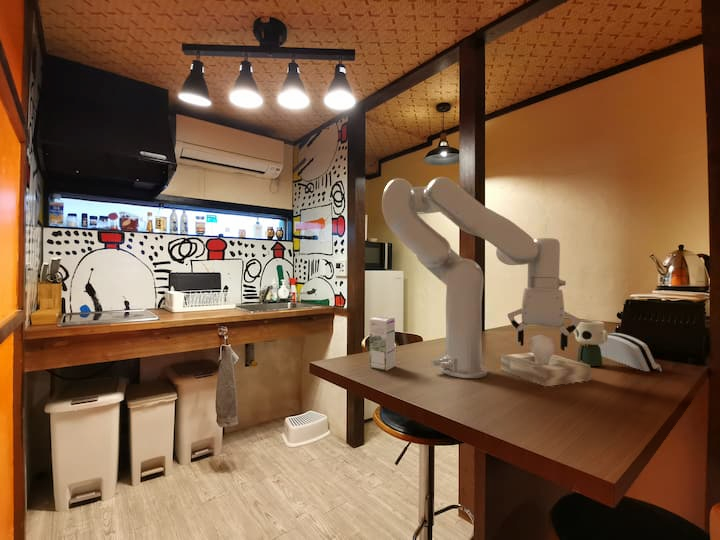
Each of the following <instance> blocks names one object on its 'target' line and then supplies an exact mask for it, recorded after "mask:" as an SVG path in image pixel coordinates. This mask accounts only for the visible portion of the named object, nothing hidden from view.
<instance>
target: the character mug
mask: <svg viewBox="0 0 720 540" xmlns="http://www.w3.org/2000/svg"><path fill="white" fill-rule="evenodd" d="M580 320H581V321H580V323H579V325H578V326H577V327H576V329H575V330H574V331H573V335H574V336H575V340H576V341H577V342H578V343H580V345H579V347H578V351H577V352H578V353H577V360H576V361H577V362H581V361H582V363H584V364H588V365H590V367H591V366H592V367H596V366H601V365H603V364H604V363H603V357H602V355H601V349H600V347H599V345H601V344H604V342H607V340H608V334H609V333H608V331H607V330H605V322H603V321H600V320H591V319H580Z"/></svg>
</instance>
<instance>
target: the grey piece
mask: <svg viewBox="0 0 720 540" xmlns="http://www.w3.org/2000/svg"><path fill="white" fill-rule="evenodd" d="M598 346H599V347H600V349H601V355H602V358H606V359H608V360H611V361H614V362H616V363H619V362H620V364H622V363H623V365H625V364H626V365H625V366H628V365H629V366H628V367H631V368H634V369H636V370H639V369H640V371H642V370H643V372H646V371H647V372H651V370H650V369H652V370H656V371H658V372H662V371H663V370H662V368H661V365H660V364H658V363H656V361H655V360H654V357H653V355H652V352H651V351H650V349H649V346H648V345H647V344H646V343H645V342H643V341H641V340H640V339H638V338H636V337H633V336H631V335H629V334H628V335H627V334H624V333H619V332H613V333H608V340H607V342H604V344H601V345H598Z"/></svg>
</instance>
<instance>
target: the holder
mask: <svg viewBox="0 0 720 540" xmlns="http://www.w3.org/2000/svg"><path fill="white" fill-rule="evenodd" d="M500 370H502V371H503V372H505V373H509V374H511V373H512V374H511V375H513V374H514V375H513V376H516V375H517V376H516V377H518V376H520V377H519V378H521V377H522V378H521V379H523V378H525V379H524V380H526V379H528V380H530V381H529V382H531V381H533V382H535V383H537V384H536V385H538V384H540V385H543V386H551V385H558V384H565V383H572V384H576V383H575V382H579V383H583V382H582V381H586V382H590V381H591V366H590V365H588V364H584V363H583V362H581V361H580V362H577V360H573V359H569V358H566V357H564V356H559V355H556V354H554V353H553V354H552V355H551V357H550V359H549V365H541V364H538V363H535V357H534V354H533V353H532V351H531V352H523V353H522V352H521V353H513V354H503V355H500ZM528 380H527V381H528ZM589 380H590V381H589ZM533 382H532V383H533ZM535 383H534V384H535ZM540 385H539V386H540ZM565 385H566V384H565ZM543 386H542V387H543ZM558 386H559V385H558ZM551 387H552V386H551Z"/></svg>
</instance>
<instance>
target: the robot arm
mask: <svg viewBox="0 0 720 540" xmlns="http://www.w3.org/2000/svg"><path fill="white" fill-rule="evenodd" d="M384 187H385V188H384V190H383V193H382V198H381V199H382V200H381V211H382V215H383V219H384V221H385V223H386V225H387V228H389V230H390V231H391V232H392V233H393V235H395V236H396V238H397V239H399V240H400V242H402V243H403V244H404V246H405V247H407V248H408V249H409V250H410V251H411V252H412V253H414V254H415V255H416V258H417V260H418V261H419V262H420V263H421V265H423V267H425V268H426V269H427V270H428V271H429V272H430V273H431V274H433V275H434V276H435V277H436V278H437V279H438V280H439V281H441V282H442V283H443V284H444V285H445V286H446V291H445V292H446V294H445V353H442V355H441V357H440V358H431V359H430V363H429V364H430V366H431V367H439V368H440V369H439V370H440V371H441V373H443V374H444V375H448V376H451V377H455V378H461V379H479V378H480V379H481V378H483V377H486V376H487V375H488V368H487V367H485V366H484V365H482V352H483V351H482V346H483V345H482V339H483V338H482V333H483V332H482V331H483V330H482V326H483V325H482V318H483V317H482V306H483V305H482V300H483V291H484V272H483V271H482V270H483V269H482V268H481V266H480V265H479V264H478V263H477V262H476V261H474V260H473V259H470V258H463V257H462V256H460V255H459V254H458V253H457V252H456V251H455V250H453V249H452V247H451V245H450V242H449V241H448V239H446V237H444V236H443V235H442V234H441V233H439V232H438V231H437V230H435V229H434V228H433V227H432V226H431V225H430V224H429V223H427V222H426V221H425V220H423V218H422V217H420V215H422V214H425V215H426V214H432V213H433V214H435V213H441V214H442V215H444V217H445V218H447V219H448V220H450V221H451V222H452V223H453V224H454V225H456V226H457V227H458V228H459V229H460V230H461V231H463V232H465V233H467V234H470V235H472V236H477V237H478V238H481V239H483V240H485V241H487V242H488V243H490V244H491V245H493V246H494V247H495V248H496V250H495V254H496V258H497V260H498V261H499V262H501V263H502V264H505V265H507V266H522V265H527V287H526V288H524V289H523V293H522V300H521V308H519V309H517V310H514V311H511V312H509V313H508V314H507V317H508V319H509V321H510V324H511V325H512V326H513V327H514V328H515V329H516V330H517V342H518V343H520V346H521V347H523V346H524V342H525V341H524V339H525V330H524V328H525V327H526V326H532V327H533V326H534V327H546V328H547V327H548V328H558V329H559V330H560V331H561V334H560V350H561V351H566V350H565V349H566V348H568V339H569V337H568V336H569V335H570V334H572V333H574V330H575V329H576V327H577V326H578V325H579V323H580V321H581V320H582V319H580V318H579V317H577V316H575V315H573V314H571V313H569V312H567V311H566V310H565V302H564V301H565V300H564V293H563V290H562V289H560V287H563V286H566V285H567V284H566V280H563V279H561V278H560V263H561V262H560V261H561V257H560V256H561V255H560V254H561V252H560V251H561V244H560V241H559V240H558V239H556V238H550V237H543V238H541V237H540V238H533V237H532V236H531V235H530V234H528V233H527V232H526V231H525V230H523V229H522V228H521V227H520V226H518V225H517V224H516V223H514V222H513V221H512V220H510V219H509V218H507V217H505V216H503V215H502V214H499V213H498V212H495V211H494V210H492V209H490V208H488V207H486V206H485V205H483V204H482V203H481V202H480V201H478V200H477V199H476V198H475V197H473V196H472V195H470V194H469V193H468V192H466V191H465V190H464V189H463V188H462V187H460V185H458V184H457V183H456V182H455V181H453V180H451V179H450V178H448V177H446V176H438V177H435V178H434V179H432V180H431V181H430V182H429V183H428V184H427V185H426V186H415V187H413V184H411V183H410V182H409V181H408V180H406V179H404V178H399V177H398V178H393V179H391V180H390V181H389V182H388V183H387V185H386V186H384ZM519 315H521V322H520V323H518V321H516V319H515V317H516V316H519ZM565 319H568V320H571V321H572V322H571V324H570V325H569V326H567V327H565Z"/></svg>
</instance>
